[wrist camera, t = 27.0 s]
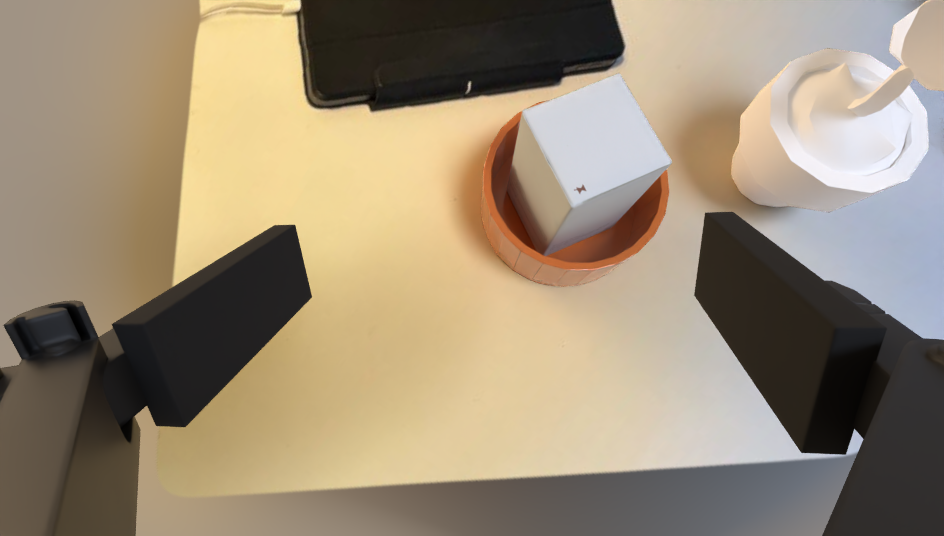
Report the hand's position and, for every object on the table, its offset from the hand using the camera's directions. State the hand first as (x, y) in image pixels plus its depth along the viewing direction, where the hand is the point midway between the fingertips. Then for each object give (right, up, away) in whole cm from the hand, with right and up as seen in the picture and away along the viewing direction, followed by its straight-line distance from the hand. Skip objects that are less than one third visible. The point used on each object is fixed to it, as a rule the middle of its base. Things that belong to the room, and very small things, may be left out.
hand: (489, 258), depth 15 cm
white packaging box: (+7, +5, +26) cm, 28 cm away
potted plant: (+27, +8, +28) cm, 40 cm away
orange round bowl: (+7, +5, +27) cm, 28 cm away
